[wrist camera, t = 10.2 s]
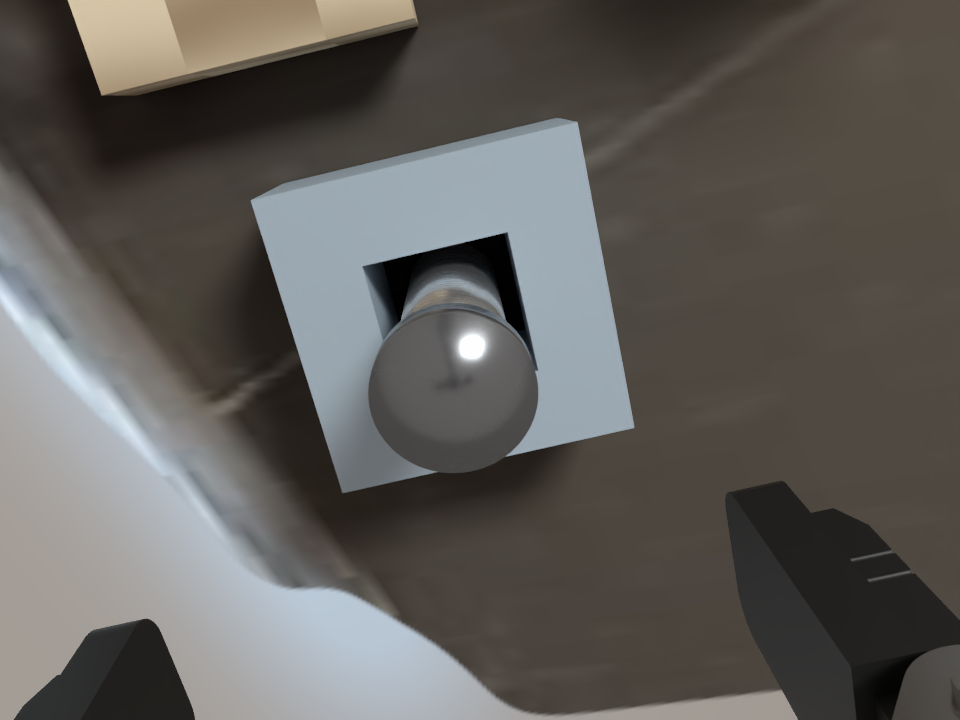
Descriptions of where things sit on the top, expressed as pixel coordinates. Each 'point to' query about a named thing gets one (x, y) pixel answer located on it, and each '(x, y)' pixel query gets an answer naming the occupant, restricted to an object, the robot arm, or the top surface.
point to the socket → (436, 224)
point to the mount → (218, 35)
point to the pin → (453, 369)
